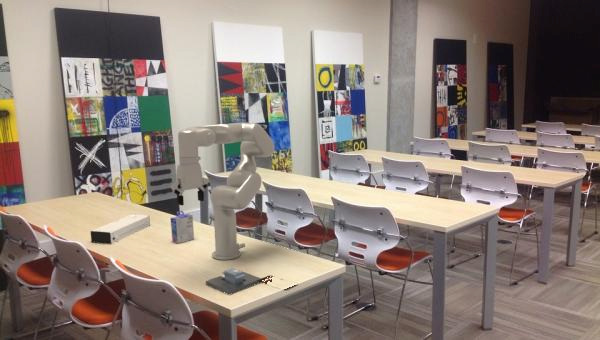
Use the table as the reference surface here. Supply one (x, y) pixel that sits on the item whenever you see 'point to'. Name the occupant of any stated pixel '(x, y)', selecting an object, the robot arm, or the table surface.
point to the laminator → (120, 228)
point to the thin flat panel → (271, 281)
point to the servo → (233, 276)
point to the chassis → (230, 288)
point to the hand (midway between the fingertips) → (191, 202)
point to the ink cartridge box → (182, 227)
